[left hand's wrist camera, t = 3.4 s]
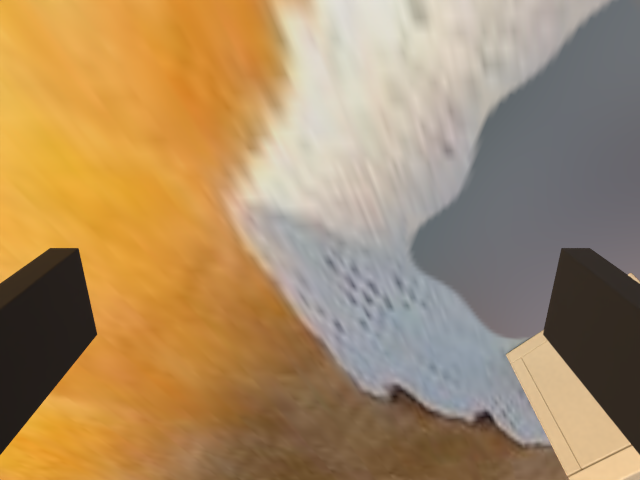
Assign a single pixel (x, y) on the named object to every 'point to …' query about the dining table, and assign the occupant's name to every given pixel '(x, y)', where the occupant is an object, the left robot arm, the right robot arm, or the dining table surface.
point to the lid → (613, 467)
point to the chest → (565, 406)
